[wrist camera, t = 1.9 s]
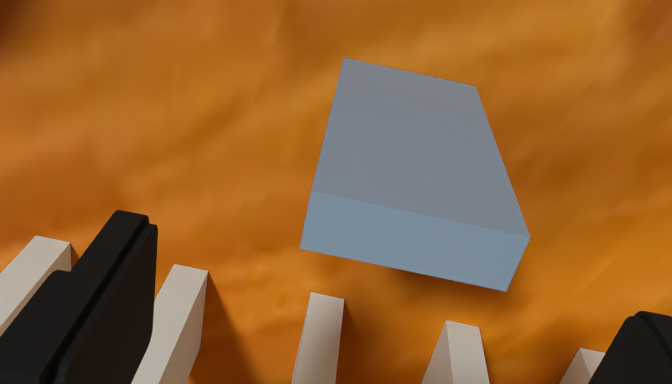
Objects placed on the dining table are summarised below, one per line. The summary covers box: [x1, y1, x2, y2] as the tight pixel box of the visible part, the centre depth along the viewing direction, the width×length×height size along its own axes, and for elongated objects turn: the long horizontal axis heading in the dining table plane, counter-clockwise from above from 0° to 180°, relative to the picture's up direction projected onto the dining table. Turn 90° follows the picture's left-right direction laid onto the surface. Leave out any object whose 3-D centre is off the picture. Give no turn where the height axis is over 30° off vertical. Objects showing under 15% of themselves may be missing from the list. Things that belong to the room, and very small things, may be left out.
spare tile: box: [300, 58, 530, 291], centre depth 18 cm, size 2×5×10 cm, turn 79°
